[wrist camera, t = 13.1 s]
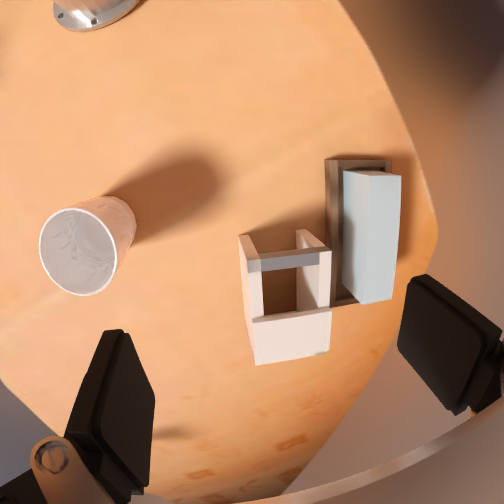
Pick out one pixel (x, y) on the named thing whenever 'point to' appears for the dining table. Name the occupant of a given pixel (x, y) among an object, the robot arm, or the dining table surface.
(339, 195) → the tray
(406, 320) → the robot arm
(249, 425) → the dining table surface
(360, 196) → the white rectangular block
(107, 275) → the white cup
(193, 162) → the dining table surface
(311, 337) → the dispenser
